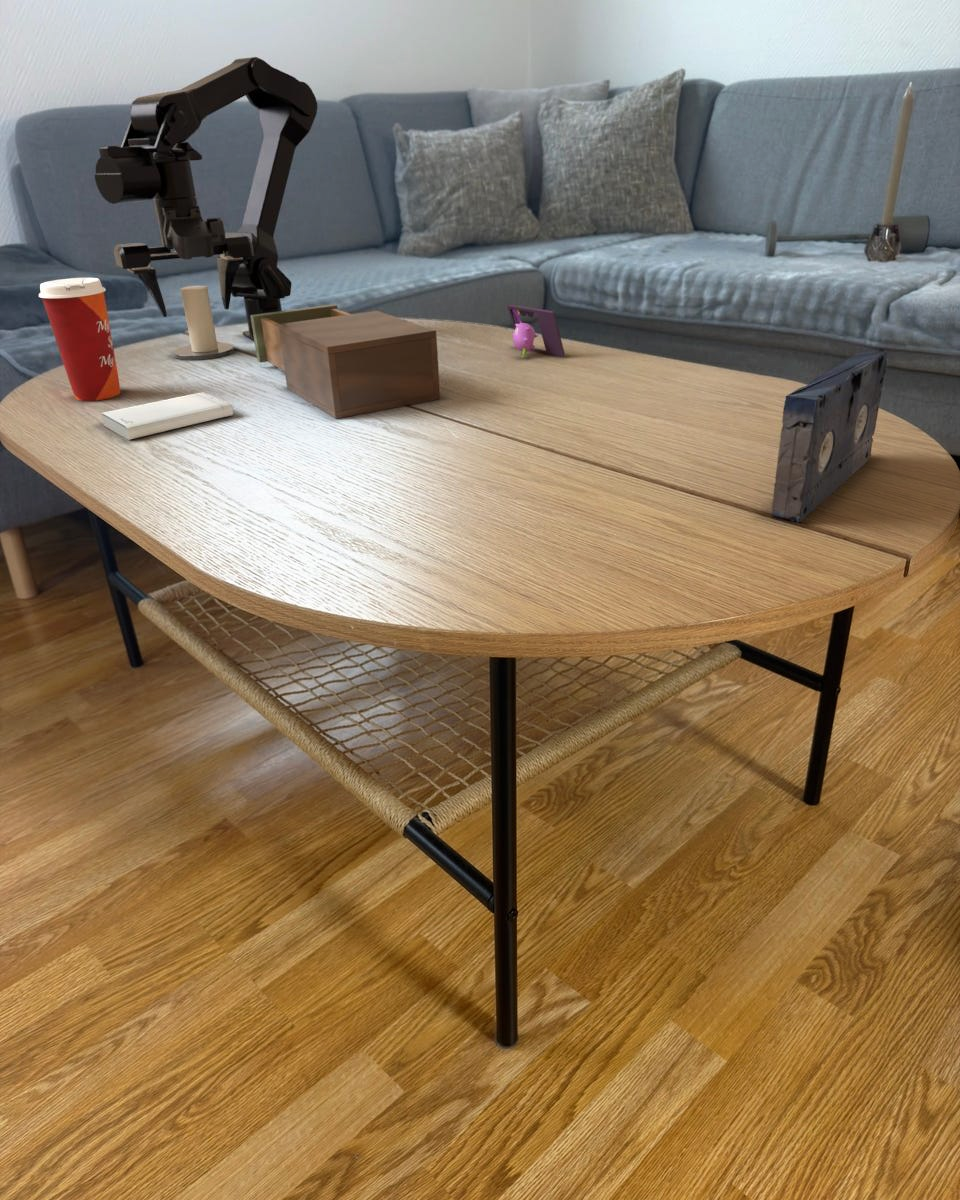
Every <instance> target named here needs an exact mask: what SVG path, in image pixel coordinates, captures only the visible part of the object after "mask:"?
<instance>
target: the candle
mask: <svg viewBox="0 0 960 1200" xmlns="http://www.w3.org/2000/svg"><path fill="white" fill-rule="evenodd" d="M208 289H209V288H208V286H207V285H189V286H184V287H183V286H182V287H181V288H180V294H181V299H182V305H183V310H184V314H185V315H184V316H185V320H186V325H187V330H188V336H189V341H190V345H191V347H192V351H193V352H197V353H203V352H211V351H215V350H217V349H218V345H217V343H218V341H217V333H216V328H215V324H214V317H213V312H212V306H211V302H210V300H211V299H210V294H209V290H208Z"/></svg>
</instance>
